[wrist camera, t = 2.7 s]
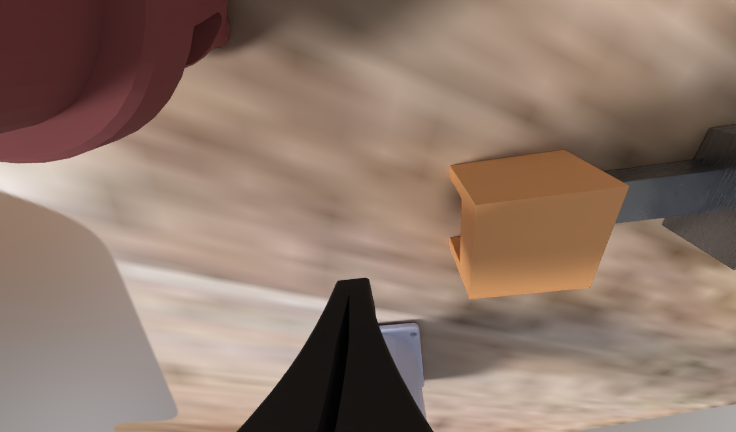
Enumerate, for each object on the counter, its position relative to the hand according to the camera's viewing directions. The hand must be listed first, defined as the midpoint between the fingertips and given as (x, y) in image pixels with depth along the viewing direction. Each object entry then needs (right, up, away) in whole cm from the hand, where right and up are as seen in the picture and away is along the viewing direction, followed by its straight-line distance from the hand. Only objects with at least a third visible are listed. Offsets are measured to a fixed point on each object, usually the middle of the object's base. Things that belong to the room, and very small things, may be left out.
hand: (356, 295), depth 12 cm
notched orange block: (+8, +4, +4) cm, 10 cm away
